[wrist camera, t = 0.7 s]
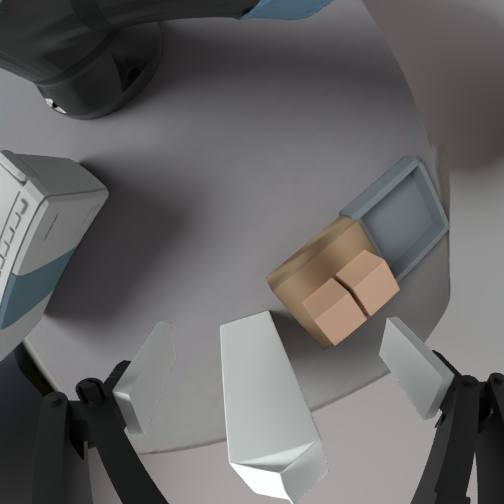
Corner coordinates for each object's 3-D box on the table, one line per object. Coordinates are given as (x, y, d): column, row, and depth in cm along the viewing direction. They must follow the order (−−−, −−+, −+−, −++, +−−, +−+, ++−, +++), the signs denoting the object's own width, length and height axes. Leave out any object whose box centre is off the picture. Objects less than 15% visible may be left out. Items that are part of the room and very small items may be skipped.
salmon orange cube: (353, 300, 28) (370, 316, 24) (335, 274, 27) (352, 288, 23) (379, 276, 28) (399, 289, 24) (364, 249, 27) (384, 259, 23)
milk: (268, 309, 32) (340, 474, 10) (280, 349, 33) (343, 501, 12) (218, 325, 31) (232, 502, 10) (234, 363, 33) (261, 524, 12)
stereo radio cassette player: (45, 319, 28) (-36, 410, 9) (8, 280, 26) (-83, 346, 7) (119, 193, 26) (-20, 221, 7) (72, 150, 24) (-66, 135, 5)
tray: (379, 279, 32) (392, 288, 30) (338, 213, 30) (350, 216, 27) (436, 223, 32) (450, 227, 29) (404, 156, 29) (418, 155, 26)
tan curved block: (312, 333, 33) (323, 350, 29) (265, 277, 30) (272, 291, 27) (378, 277, 32) (395, 288, 29) (340, 215, 30) (357, 220, 26)
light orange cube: (321, 326, 28) (334, 346, 24) (301, 302, 27) (313, 320, 23) (349, 303, 28) (366, 319, 24) (331, 277, 27) (348, 292, 23)
